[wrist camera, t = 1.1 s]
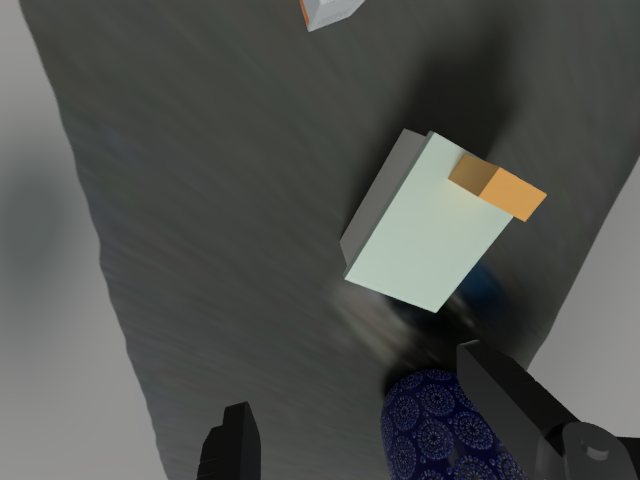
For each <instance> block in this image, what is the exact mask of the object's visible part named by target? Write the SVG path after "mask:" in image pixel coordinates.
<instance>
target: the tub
mask: <svg viewBox="0 0 640 480" xmlns="http://www.w3.org/2000/svg"><path fill="white" fill-rule="evenodd" d="M425 138H426V137H425V136H423V135H420V134H418V133H415V132H413V131H410V130H407V129H405V128H404V129H403V131H402V133H401V135H400V136H399V138H398V140H397V142H396V143H395V145H394V147H393V149H392V150H391V152H390V154H389V156H388V157H387V159H386V161H385V163H384V164H383V166H382V168H381V170H380V171H379V173H378V175H377V177H376V178H375V180H374V182H373V184H372V185H371V187H370V189H369V191H368V192H367V194H366V196H365V198H364V199H363V201H362V203H361V205H360V206H359V208H358V210H357V212H356V213H355V215H354V217H353V219H352V220H351V222H350V224H349V226H348V227H347V229H346V231H345V233H344V234H343V236H342V238H341V240H340V241H339V242H340V245H341V248H342V251H343V254H344V257H345V260H346V263H347V266H348V265H349V263H350V261H351V260H352V258H353V256H354V255H355V253H356V252H357V250H358V248H359V247H360V245H361V243H362V242H363V240H364V238H365V237H366V235H367V233H368V232H369V230H370V228H371V227H372V225H373V223H374V222H375V220H376V219H377V217H378V215H379V214H380V212H381V210H382V209H383V207H384V205H385V204H386V202H387V200H388V199H389V197H390V195H391V194H392V192H393V190H394V189H395V187H396V186H397V184H398V182H399V181H400V179H401V177H402V176H403V174H404V172H405V171H406V169H407V167H408V166H409V164H410V162H411V161H412V159H413V158H414V156H415V154H416V153H417V151H418V149H419V148H420V146H421V144H422V143H423V141H424V139H425Z"/></svg>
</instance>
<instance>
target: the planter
mask: <svg viewBox="0 0 640 480" xmlns="http://www.w3.org/2000/svg"><path fill="white" fill-rule="evenodd" d="M380 423H381V434H382V440H383V446H384V451H385V456H386V461H387V465H388V469H389V474H390V478H391V480H530V479H529V478H528V476H527V475H526V474H525V472H524V471H523V470H522V468H521V467H520V466H519V464H518V463H517V462H516V460H515V459H514V458H513V457H512V455H511V454H510V453H509V451H508V450H507V449H506V447H505V446H504V445H503V443H502V442H501V441H500V439H499V438H498V437H497V435H496V434H495V433H494V431H493V430H492V429H491V427H490V426H489V425H488V423H487V422H486V421H485V419H484V418H483V417H482V415H481V414H480V413H479V411H478V410H477V409H476V407H475V406H474V405H473V404H472V402H471V401H470V400H469V398H468V397H467V396H466V394H465V393H464V391H463V390H462V388H461V386H460V384H459V381H458V378H457V374H455V373H452V372H450V371H446V370H441V369H424V370H420V371H416V372H413V373H411V374H408V375H407V376H405V377H403V378H402V379H400V380H399V381H398V382H396V383H395V384H394V386H393V387H392V388H391V389H390V390H389V392H388V394H387V396H386V398H385V400H384V403H383V407H382V411H381V420H380Z"/></svg>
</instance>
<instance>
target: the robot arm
mask: <svg viewBox="0 0 640 480" xmlns="http://www.w3.org/2000/svg"><path fill="white" fill-rule="evenodd" d="M457 378H458V381H459V384H460V386H461V388H462V390H463V391H464V393H465V394H466V396H467V397H468V398H469V400H470V401H471V402H472V404H473V405H474V406H475V407H476V409H477V410H478V411H479V413H480V414H481V415H482V417H483V418H484V419H485V421H486V422H487V423H488V425H489V426H490V427H491V429H492V430H493V431H494V433H495V434H496V435H497V437H498V438H499V439H500V441H501V442H502V443H503V445H504V446H505V447H506V449H507V450H508V451H509V453H510V454H511V455H512V457H513V458H514V459H515V460H516V462H517V463H518V464H519V466H520V467H521V468H522V470H523V471H524V472H525V474H526V475H527V476H528V478H529V479H530V480H640V438H631V437H616V436H614V435H612V434H611V433H610V432H608V431H606V430H605V429H603V428H601V427H599V426H596V425H594V424H590V423H586V422H581V421H580V420H578V419H577V418H576V417H575V416H574V415H573V414H572V413H571V412H569V411H568V410H567V409H566V408H565V407H564V406H563V405H562V404H561V403H560V402H559V401H558V400H557V399H556V398H554V397H553V396H552V395H551V394H550V393H549V392H548V391H547V390H546V389H545V388H544V387H542V385H540V384H539V383H538V382H537V381H535V380H534V378H533V377H532V376H531V375H530V374H529V373H528V372H525V370H524V369H523V368H522V367H521V366H520V365H519V364H518V363H517V362H516V361H515V360H514V359H513V358H511V357H509V356H507V355H505V354H503V353H501V352H500V351H498V350H495V351H490V350H489V349H488V348H487V347H486V346H485V345H484V344H483V343H482V342H481V341H479V340H474V341H470V342H466V343H463V344H459V345H457ZM260 478H261V443H260V436H259V431H258V428H257V425H256V422H255V420H254V417H253V414H252V411H251V408H250V406H249V403H248V402H247V401H246V402H243V403H239V404H235V405H232V406H228V407H226V408H225V411H224V418H223V424H222V425H221V426H218V427H214V428H212V429H211V431H210V433H209V435H208V436H207V438H206V440H205V442H204V444H203V448H202V453H201V458H200V465H199V468H198V473H197V479H196V480H260Z"/></svg>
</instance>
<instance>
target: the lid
mask: <svg viewBox="0 0 640 480" xmlns="http://www.w3.org/2000/svg"><path fill="white" fill-rule="evenodd" d="M546 196H547V194H545V193H544V192H542V191H540V190H538V189H537V188H535V187H533V186H532V185H530V184H528V183H526V182H525V181H523V180H521V179H519V178H518V177H516V176H514V175H513V174H511V173H509V172H507V171H506V170H504V169H502V168H500V167H498V166H496V165H493V164H491V163H488V162H485V161H484V160H482V159H480V158H478V157H477V156H475V155H473V154H472V153H470V152H468V151H466V150H465V149H463V148H461V147H459V146H458V145H456V144H454V143H452V142H451V141H449V140H447V139H445V138H444V137H442V136H440V135H439V134H437V133H435V132H432V131H429V133H428V134H427V136H426V138H425V139H424V141H423V143H422V144H421V146H420V148H419V149H418V151H417V153H416V154H415V156H414V158H413V159H412V161H411V162H410V164H409V166H408V167H407V169H406V171H405V172H404V174H403V176H402V177H401V179H400V181H399V182H398V184H397V186H396V187H395V189H394V190H393V192H392V194H391V195H390V197H389V199H388V200H387V202H386V204H385V205H384V207H383V209H382V210H381V212H380V214H379V215H378V217H377V219H376V220H375V222H374V223H373V225H372V227H371V228H370V230H369V232H368V233H367V235H366V237H365V238H364V240H363V242H362V243H361V245H360V247H359V248H358V250H357V252H356V253H355V255H354V256H353V258H352V260H351V261H350V263H349V265H348V266H347V268H346V270H345V271H344V273H343V276H344V279H345V280H348V281H351V282H353V283H356V284H359V285H362V286H364V287H367V288H370V289H372V290H375V291H378V292H380V293H383V294H386V295H389V296H391V297H394V298H397V299H399V300H402V301H405V302H408V303H410V304H413V305H416V306H418V307H421V308H424V309H427V310H429V311H432V312H435V313H436V312H437V311H438V310H439V309H440V307H441V306H442V305H443V304H444V302H445V301H446V300H447V299H448V297H449V296H450V295H451V294H452V292H453V291H454V290H455V289H456V288H457V286H458V285H459V284H460V283H461V281H462V280H463V279H464V278H465V276H466V275H467V274H468V273H469V271H470V270H471V269H472V268H473V266H474V265H475V264H476V263H477V261H478V260H479V259H480V258H481V256H482V255H483V254H484V253H485V251H486V250H487V249H488V248H489V246H490V245H491V244H492V243H493V241H494V240H495V239H496V238H497V236H498V235H499V234H500V233H501V231H502V230H503V229H504V228H505V226H506V225H507V224H508V223H509V221H510V220H511V219H512V218H513V216H515V217H517V218H519V219H521V220H522V221H524V222H525V221H526V220H527V219H528V217H529V216H530V215H531V214H532V212H533V211H534V210H535V209H536V208H537V206H538V205H539V204H540V203H541V202H542V200H543V199H544V198H545V197H546Z"/></svg>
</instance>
